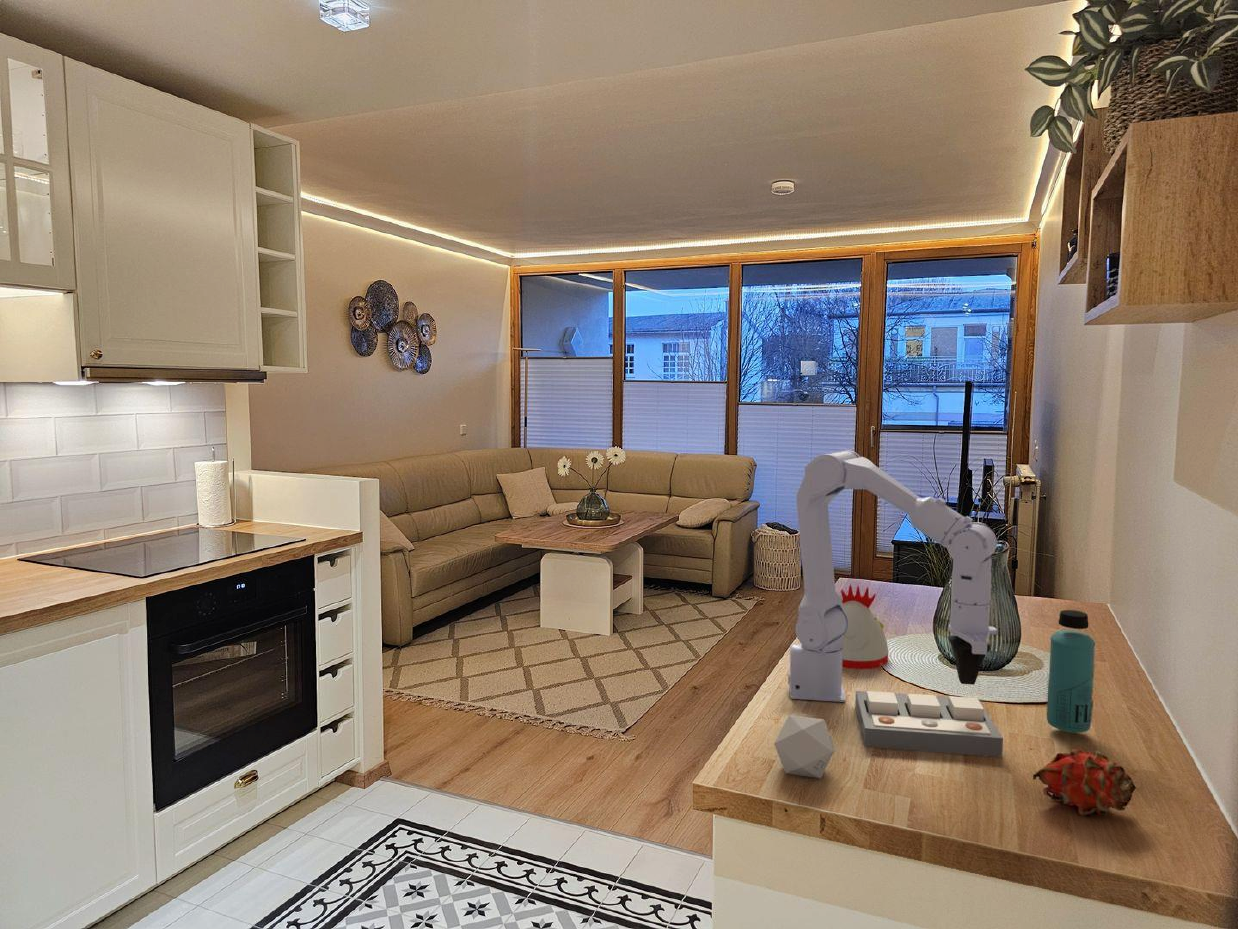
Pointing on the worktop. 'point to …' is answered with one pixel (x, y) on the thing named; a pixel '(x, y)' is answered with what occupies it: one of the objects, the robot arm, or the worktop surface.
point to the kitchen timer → (862, 633)
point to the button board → (927, 730)
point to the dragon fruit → (1086, 782)
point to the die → (804, 746)
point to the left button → (882, 703)
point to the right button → (965, 708)
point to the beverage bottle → (1071, 675)
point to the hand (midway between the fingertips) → (966, 682)
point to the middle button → (923, 705)
